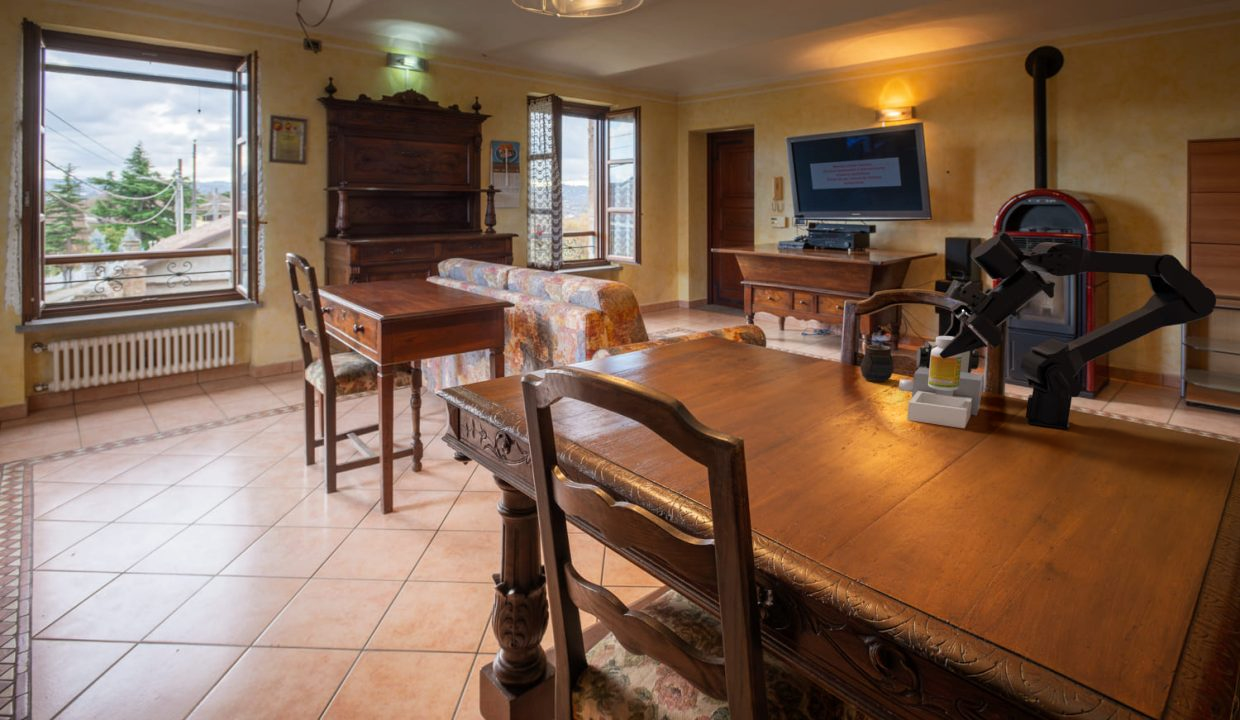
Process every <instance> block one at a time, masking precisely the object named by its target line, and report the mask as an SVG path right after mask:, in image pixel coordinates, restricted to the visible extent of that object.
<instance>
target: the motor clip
mask: <svg viewBox="0 0 1240 720" xmlns="http://www.w3.org/2000/svg"><path fill="white" fill-rule="evenodd" d="M917 368H918V369H916V371H914V374H913V380H911V379H905V378H900V380H899V382H898V390H899V391H901V392H908V393H909V392H910V393H911V394H912V395H911V398H910V399H909V401H908V408H907V417H906V418H907V419H906V420H907V421H912V422H917V423H918V422H920V423H926V424H934V425H940V426H946V427H953V428H959V429H965V428H966V426H967V424H968V422H969V420H970V418H971V416H972V415H973V416H977V415H978V413H979V410H980V406H981V397H982V389H983V381H984V374H983V373H973V372H971V373H966V372H960V380H959V388H958V389H957V390H948V391H947V390H937V389H933V388H931V387H929V386H928V379H929V368H922V367H917Z"/></svg>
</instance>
